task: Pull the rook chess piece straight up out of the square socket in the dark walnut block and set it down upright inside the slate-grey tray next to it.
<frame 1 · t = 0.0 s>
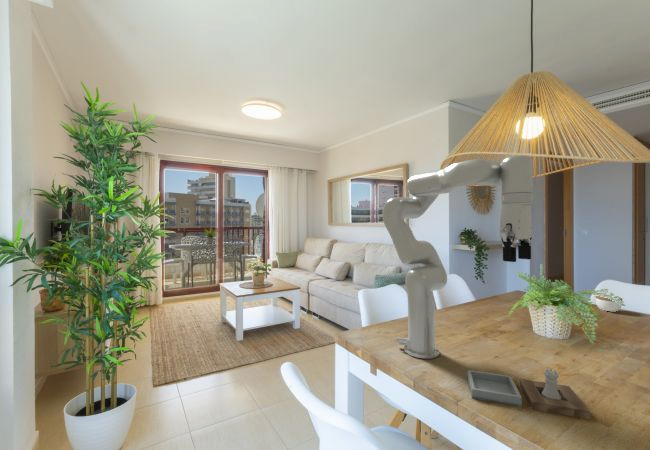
hand: (517, 260, 85), 37 cm above the table, tool pointing down, fingers open, 9 cm apart
tray: (492, 391, 84), on the table
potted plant: (608, 311, 162), on the table
rook chess piece: (551, 401, 80), resting in socket block
socket block: (551, 400, 80), on the table
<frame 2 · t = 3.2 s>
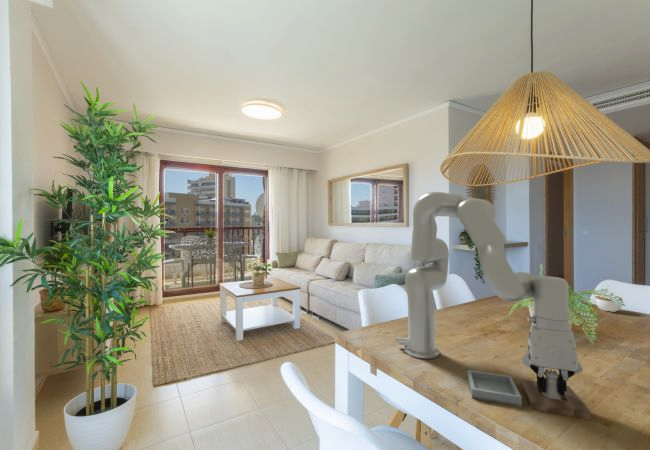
hand: (551, 390, 80), 3 cm above the table, tool pointing down, fingers closed on rook chess piece, 3 cm apart
rook chess piece: (551, 401, 80), resting in socket block, touching gripper
everything else where it was.
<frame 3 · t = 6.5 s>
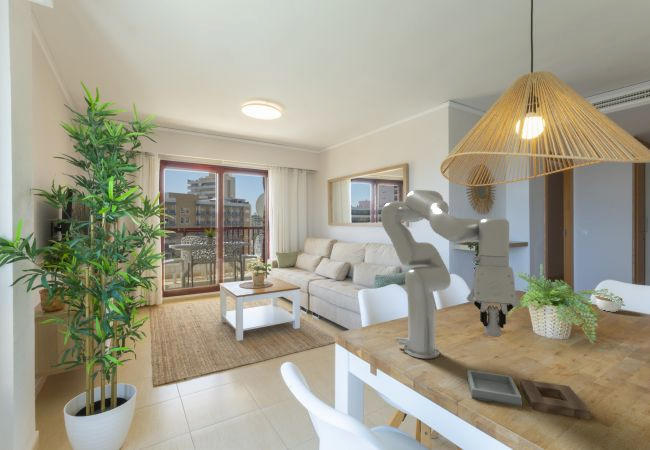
hand: (492, 325, 85), 19 cm above the table, tool pointing down, fingers closed on rook chess piece, 3 cm apart
rook chess piece: (492, 335, 85), point 16 cm above the table, touching gripper
everything else where it was.
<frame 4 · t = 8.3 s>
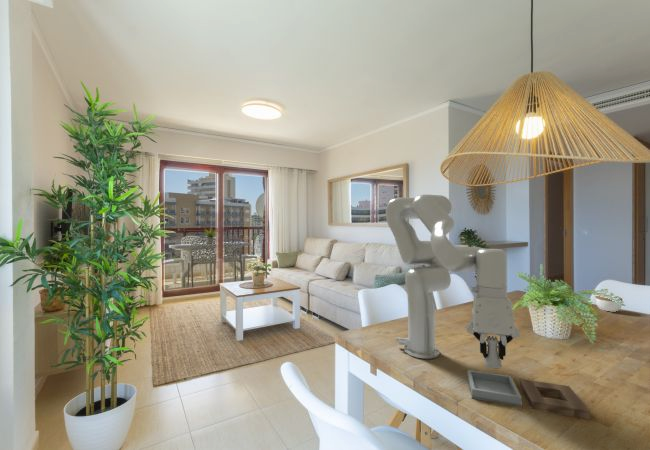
hand: (492, 356, 84), 10 cm above the table, tool pointing down, fingers closed on rook chess piece, 3 cm apart
rook chess piece: (492, 366, 84), point 7 cm above the table, touching gripper
everything else where it was.
when the fingers open (5 cm above the table, at t = 9.6 s): rook chess piece drops 1 cm, resting on tray.
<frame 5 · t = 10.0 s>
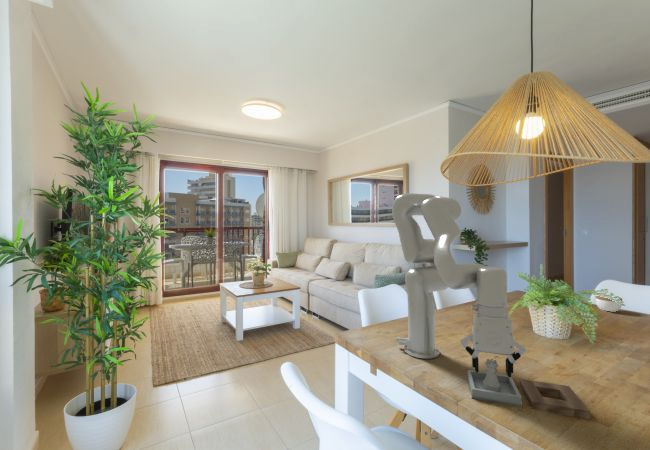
hand: (492, 372, 85), 5 cm above the table, tool pointing down, fingers open, 7 cm apart
rook chess piece: (491, 389, 85), resting on tray
everything else where it was.
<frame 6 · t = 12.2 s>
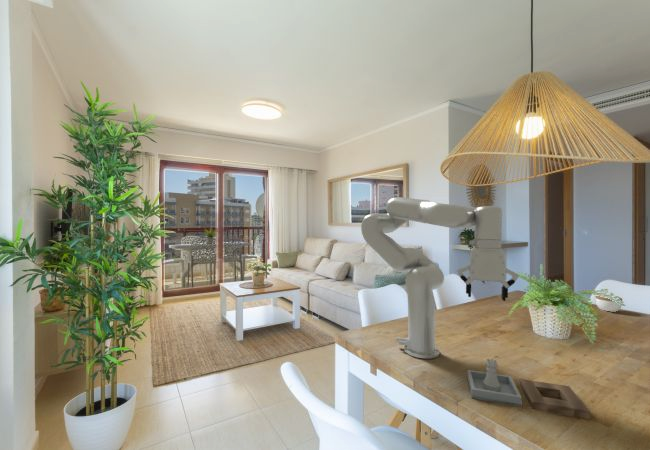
hand: (486, 297, 95), 24 cm above the table, tool pointing down, fingers open, 9 cm apart
nothing on the table moved.
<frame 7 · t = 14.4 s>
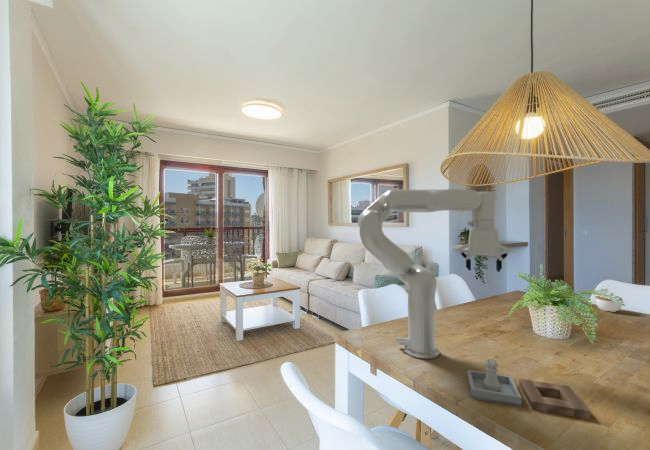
hand: (483, 270, 111), 30 cm above the table, tool pointing down, fingers open, 9 cm apart
nothing on the table moved.
at the end: rook chess piece 0.1 cm off-centre on the tray, point 0.4 cm above the tray's base; rook chess piece tilted 0°; the gripper is holding nothing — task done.
